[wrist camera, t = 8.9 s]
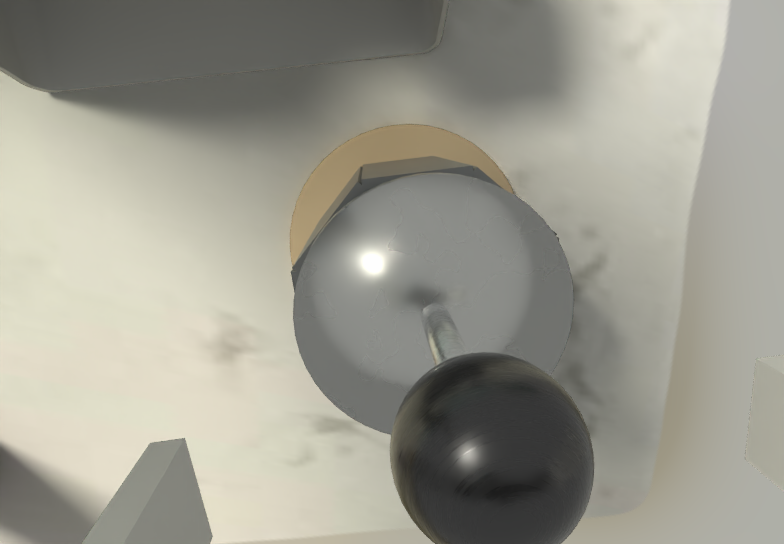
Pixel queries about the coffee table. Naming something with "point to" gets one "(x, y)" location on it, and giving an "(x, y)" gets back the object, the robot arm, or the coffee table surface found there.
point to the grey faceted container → (380, 174)
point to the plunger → (452, 354)
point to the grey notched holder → (201, 37)
